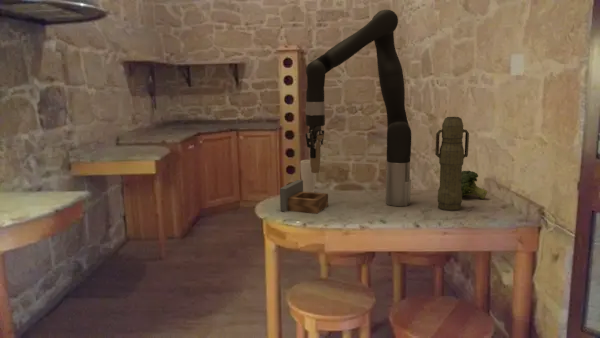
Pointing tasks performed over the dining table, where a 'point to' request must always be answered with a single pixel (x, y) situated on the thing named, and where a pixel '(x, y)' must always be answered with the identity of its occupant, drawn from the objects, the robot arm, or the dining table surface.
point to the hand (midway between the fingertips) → (315, 156)
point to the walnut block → (308, 202)
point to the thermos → (451, 163)
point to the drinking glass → (307, 176)
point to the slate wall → (289, 193)
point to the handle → (316, 161)
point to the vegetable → (471, 185)
